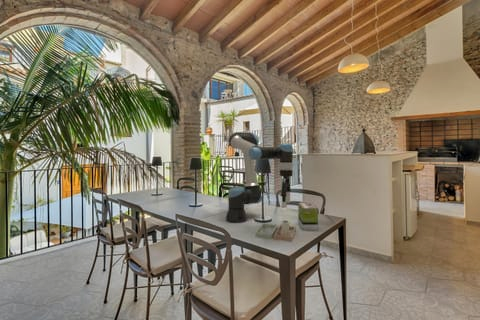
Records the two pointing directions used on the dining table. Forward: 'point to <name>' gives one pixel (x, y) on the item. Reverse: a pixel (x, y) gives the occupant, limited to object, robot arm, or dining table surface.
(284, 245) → the dining table surface
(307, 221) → the tea box
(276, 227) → the tray
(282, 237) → the tray
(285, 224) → the letter block
